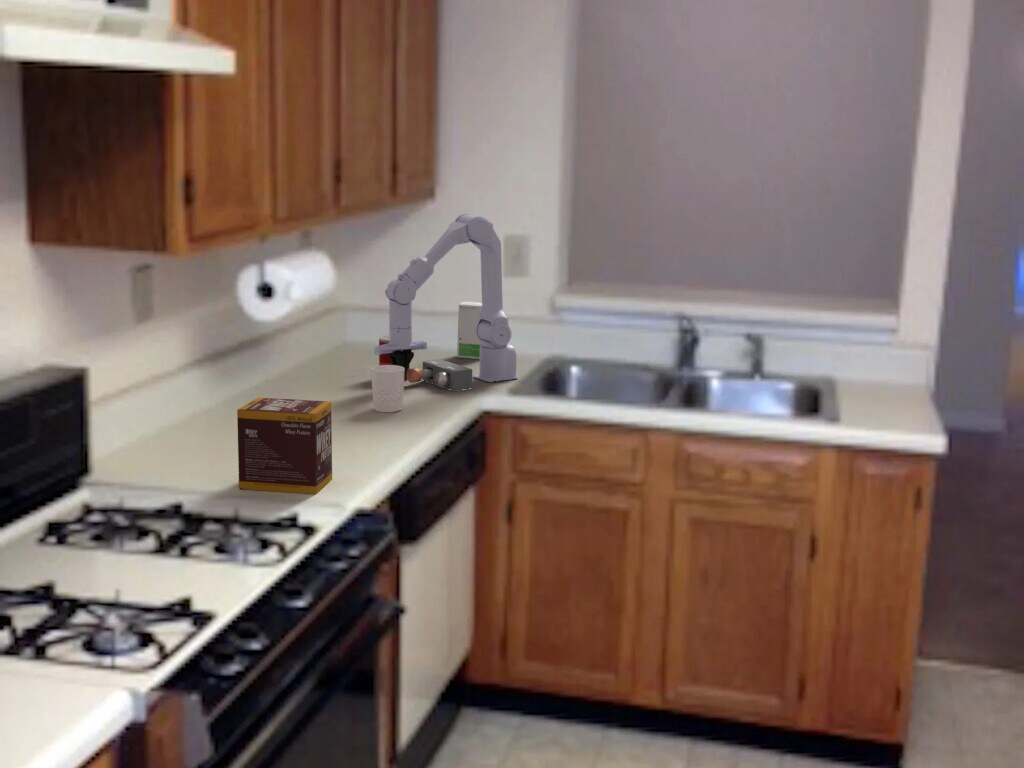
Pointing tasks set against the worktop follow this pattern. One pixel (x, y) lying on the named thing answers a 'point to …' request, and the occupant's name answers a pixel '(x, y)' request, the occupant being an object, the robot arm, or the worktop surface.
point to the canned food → (385, 358)
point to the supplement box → (285, 445)
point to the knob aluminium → (442, 379)
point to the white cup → (388, 387)
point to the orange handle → (418, 374)
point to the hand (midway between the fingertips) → (400, 379)
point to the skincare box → (468, 330)
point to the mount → (458, 374)
